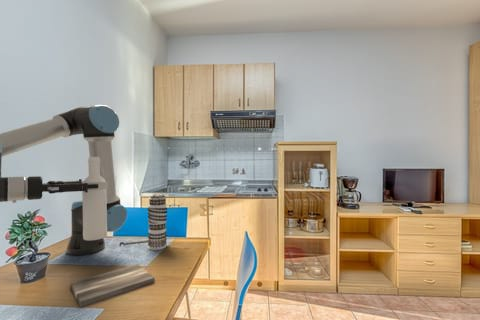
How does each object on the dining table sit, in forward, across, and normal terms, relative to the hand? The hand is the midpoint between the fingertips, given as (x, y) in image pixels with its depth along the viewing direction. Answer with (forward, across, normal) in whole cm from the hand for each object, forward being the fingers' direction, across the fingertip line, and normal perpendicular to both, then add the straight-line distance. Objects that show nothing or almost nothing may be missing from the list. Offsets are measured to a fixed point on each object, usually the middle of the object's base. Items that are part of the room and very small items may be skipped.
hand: (104, 184), depth 97 cm
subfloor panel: (-1, +15, -32) cm, 36 cm away
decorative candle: (+26, -11, -32) cm, 43 cm away
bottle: (-3, 0, -20) cm, 20 cm away
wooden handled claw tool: (+23, -20, -33) cm, 45 cm away
